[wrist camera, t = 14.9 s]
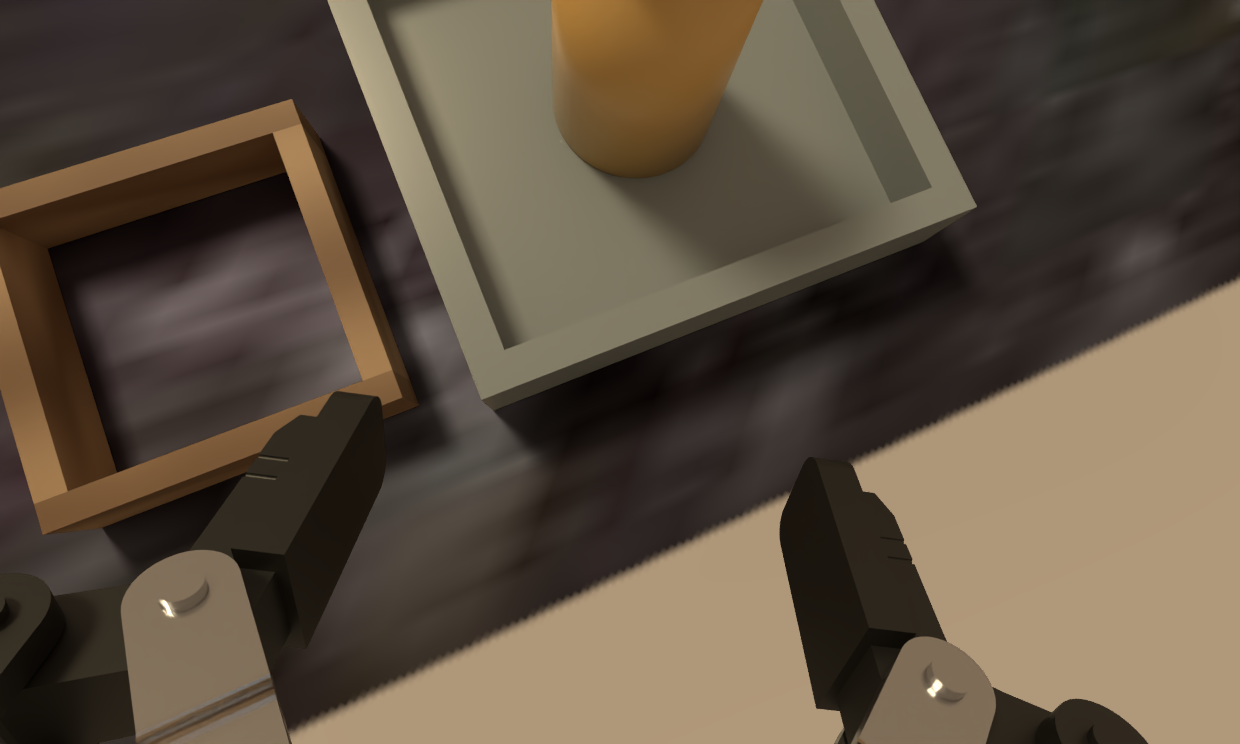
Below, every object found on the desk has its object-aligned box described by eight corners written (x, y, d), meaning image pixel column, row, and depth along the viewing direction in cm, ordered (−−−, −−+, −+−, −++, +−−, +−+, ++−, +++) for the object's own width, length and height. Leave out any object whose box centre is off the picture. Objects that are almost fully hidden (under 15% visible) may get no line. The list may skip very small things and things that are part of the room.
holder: (11, 233, 19) (-54, 205, 17) (318, 135, 20) (292, 98, 18) (101, 527, 18) (43, 534, 16) (418, 405, 19) (402, 397, 17)
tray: (328, -16, 21) (292, -92, 18) (741, -134, 23) (765, -217, 20) (493, 410, 19) (481, 399, 16) (923, 241, 21) (976, 206, 18)
